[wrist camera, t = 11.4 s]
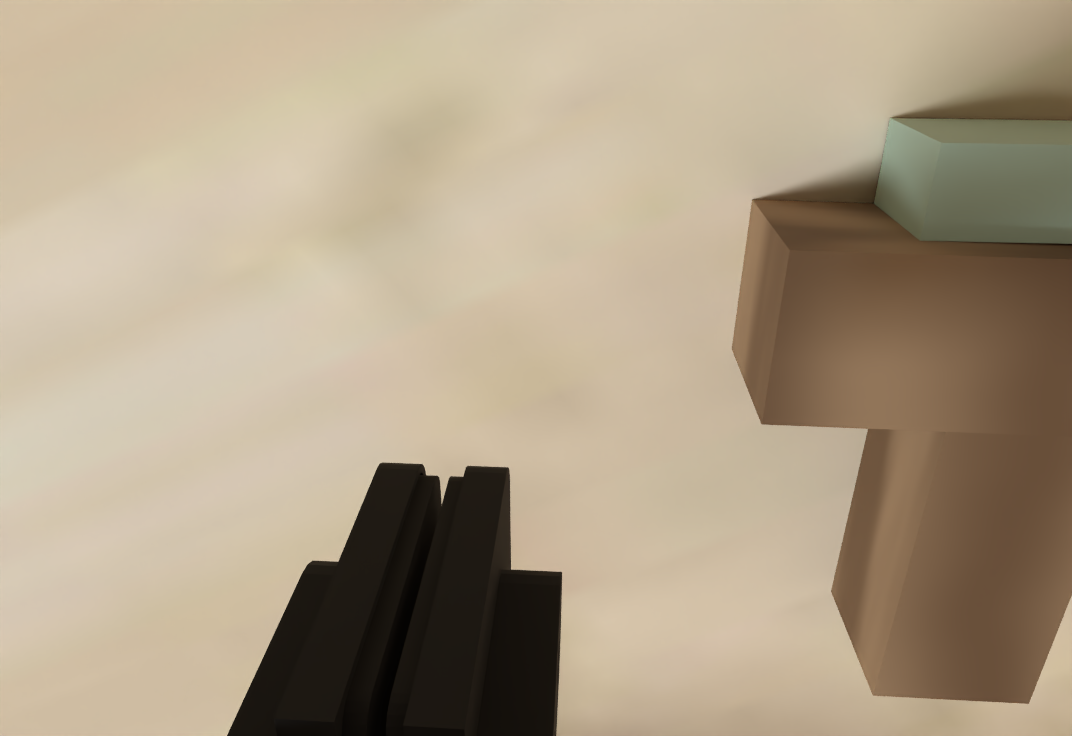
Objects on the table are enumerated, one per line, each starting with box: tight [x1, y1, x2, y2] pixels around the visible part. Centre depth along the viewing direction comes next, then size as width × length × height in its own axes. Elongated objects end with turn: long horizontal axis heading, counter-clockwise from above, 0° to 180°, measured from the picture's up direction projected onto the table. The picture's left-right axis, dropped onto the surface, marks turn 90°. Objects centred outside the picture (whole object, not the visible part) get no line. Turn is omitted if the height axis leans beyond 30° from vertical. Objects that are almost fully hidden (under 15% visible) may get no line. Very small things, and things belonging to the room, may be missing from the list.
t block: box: [732, 200, 1072, 704], centre depth 21 cm, size 12×12×4 cm
